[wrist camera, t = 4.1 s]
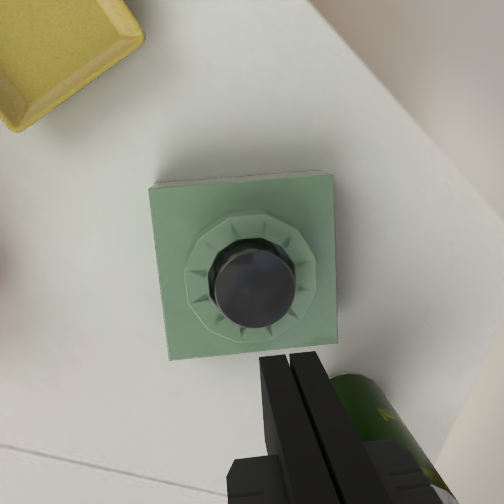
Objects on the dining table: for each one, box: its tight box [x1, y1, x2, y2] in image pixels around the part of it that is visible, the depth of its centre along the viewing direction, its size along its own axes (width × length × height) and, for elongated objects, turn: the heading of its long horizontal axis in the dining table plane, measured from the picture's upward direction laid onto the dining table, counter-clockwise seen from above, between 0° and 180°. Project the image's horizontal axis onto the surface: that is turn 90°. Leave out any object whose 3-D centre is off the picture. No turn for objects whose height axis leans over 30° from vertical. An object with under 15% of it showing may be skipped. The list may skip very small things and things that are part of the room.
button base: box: [148, 170, 338, 361], centre depth 27 cm, size 10×10×5 cm
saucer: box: [0, 0, 146, 132], centre depth 25 cm, size 9×9×2 cm
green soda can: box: [329, 373, 459, 504], centre depth 27 cm, size 5×5×12 cm
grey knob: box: [214, 242, 296, 328], centre depth 24 cm, size 4×4×2 cm
